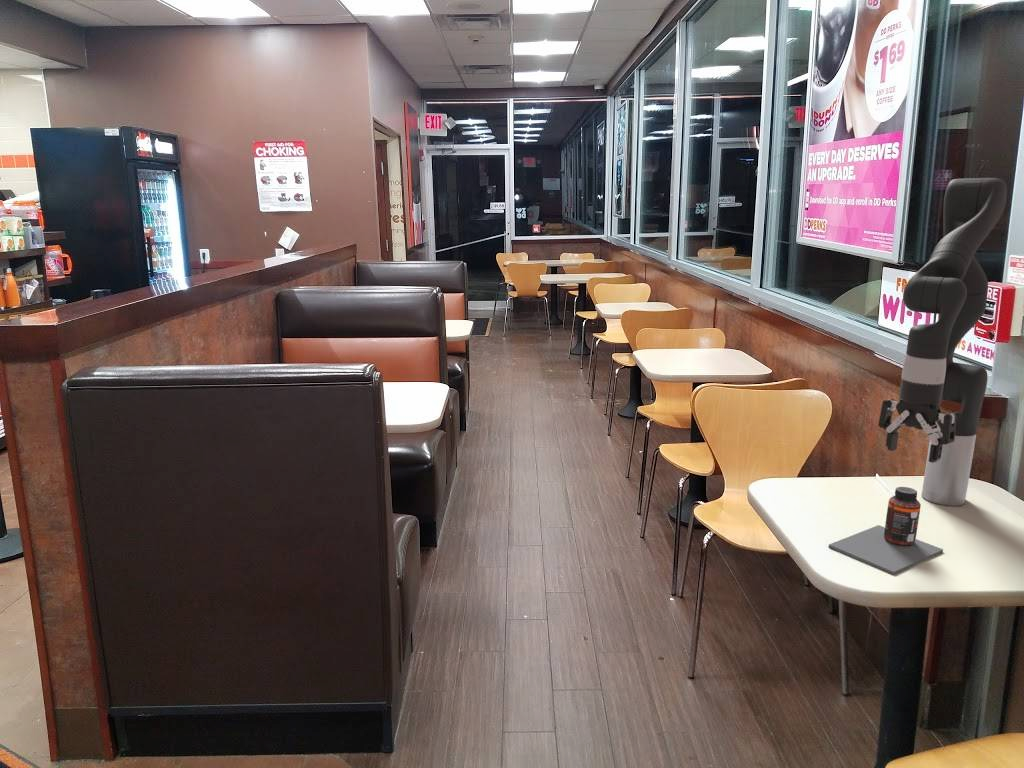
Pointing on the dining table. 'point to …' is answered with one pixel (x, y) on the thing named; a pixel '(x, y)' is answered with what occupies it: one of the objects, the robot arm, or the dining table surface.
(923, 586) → the dining table surface
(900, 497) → the supplement bottle
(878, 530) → the mat
